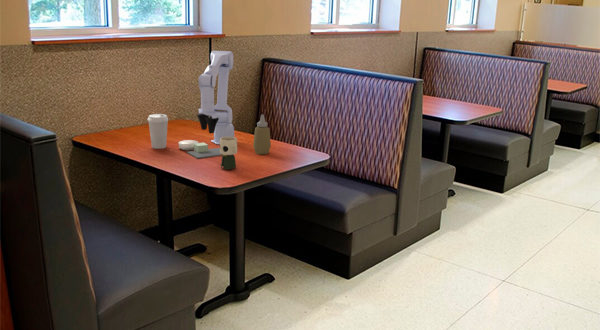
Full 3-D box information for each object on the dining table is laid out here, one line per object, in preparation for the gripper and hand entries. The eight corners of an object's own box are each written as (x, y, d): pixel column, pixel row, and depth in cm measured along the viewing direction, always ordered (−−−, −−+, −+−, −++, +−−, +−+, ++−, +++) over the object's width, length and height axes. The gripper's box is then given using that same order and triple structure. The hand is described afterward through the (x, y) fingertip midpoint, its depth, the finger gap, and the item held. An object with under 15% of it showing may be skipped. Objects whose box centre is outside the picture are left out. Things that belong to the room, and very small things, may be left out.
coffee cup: (164, 150, 275) (163, 118, 271) (145, 148, 277) (143, 116, 273) (172, 145, 284) (171, 114, 280) (153, 143, 286) (152, 113, 282)
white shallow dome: (193, 145, 285) (193, 139, 284) (201, 149, 278) (201, 143, 277) (175, 147, 280) (175, 141, 280) (183, 151, 273) (183, 145, 272)
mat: (218, 149, 280) (218, 147, 280) (229, 154, 272) (229, 153, 271) (186, 153, 272) (186, 151, 271) (197, 158, 263) (197, 157, 263)
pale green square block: (204, 148, 277) (203, 142, 277) (208, 151, 273) (208, 144, 272) (193, 149, 275) (193, 143, 274) (198, 152, 271) (197, 146, 270)
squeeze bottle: (273, 152, 278) (274, 114, 273) (266, 156, 270) (267, 117, 265) (257, 150, 280) (257, 112, 275) (250, 154, 273) (250, 115, 268)
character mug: (213, 167, 251) (213, 137, 247) (227, 164, 256) (227, 134, 252) (229, 173, 244) (229, 142, 240) (243, 170, 248) (243, 139, 245)
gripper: (192, 99, 269) (192, 129, 272) (206, 104, 257) (206, 135, 261) (206, 98, 273) (206, 127, 276) (221, 103, 261) (221, 133, 265)
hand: (207, 131), depth 269 cm, fingers open, 7 cm apart
